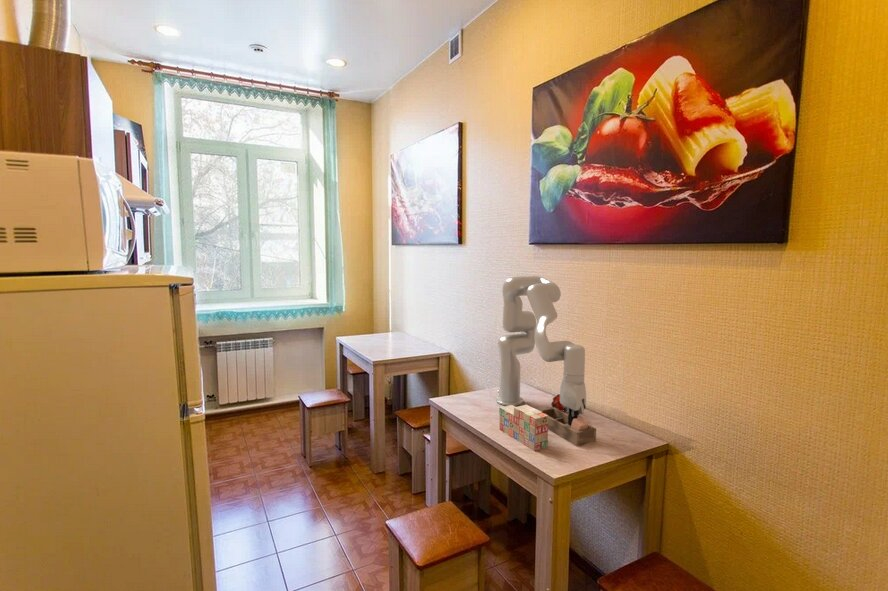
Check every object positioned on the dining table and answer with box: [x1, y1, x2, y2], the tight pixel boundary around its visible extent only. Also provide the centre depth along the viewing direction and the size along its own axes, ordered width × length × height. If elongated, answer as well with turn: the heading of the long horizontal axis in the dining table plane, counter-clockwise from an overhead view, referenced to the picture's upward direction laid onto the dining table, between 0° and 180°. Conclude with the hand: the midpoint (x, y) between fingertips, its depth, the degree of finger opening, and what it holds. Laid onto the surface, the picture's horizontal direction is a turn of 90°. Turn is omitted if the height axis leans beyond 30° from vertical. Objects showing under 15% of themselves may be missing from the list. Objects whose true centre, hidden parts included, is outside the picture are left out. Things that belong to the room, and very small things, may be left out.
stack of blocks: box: [499, 404, 549, 452], centre depth 164 cm, size 21×6×12 cm, turn 29°
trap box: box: [538, 407, 597, 447], centre depth 170 cm, size 24×9×5 cm, turn 25°
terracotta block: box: [571, 416, 589, 432], centre depth 162 cm, size 4×4×4 cm
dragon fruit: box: [551, 393, 567, 413], centre depth 192 cm, size 8×8×12 cm
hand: (572, 424), depth 166 cm, fingers closed
